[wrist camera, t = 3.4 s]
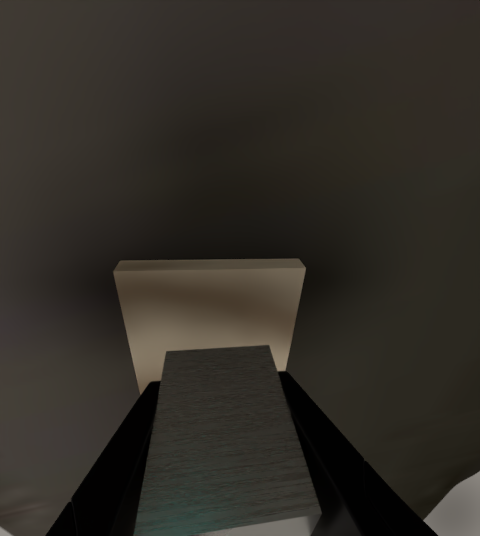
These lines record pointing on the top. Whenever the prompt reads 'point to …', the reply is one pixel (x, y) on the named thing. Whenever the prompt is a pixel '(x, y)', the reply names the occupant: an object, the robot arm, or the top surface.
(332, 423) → the robot arm
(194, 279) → the bracket
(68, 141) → the top surface
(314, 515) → the shaft
